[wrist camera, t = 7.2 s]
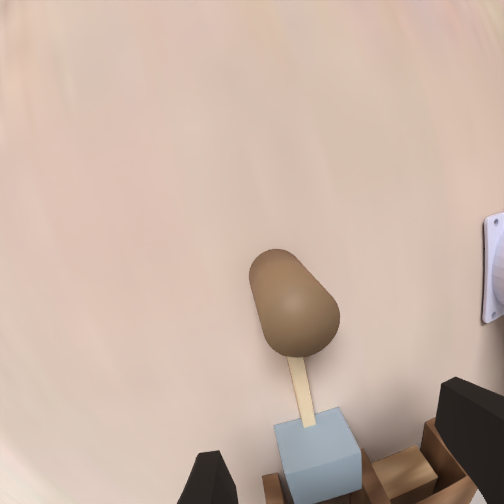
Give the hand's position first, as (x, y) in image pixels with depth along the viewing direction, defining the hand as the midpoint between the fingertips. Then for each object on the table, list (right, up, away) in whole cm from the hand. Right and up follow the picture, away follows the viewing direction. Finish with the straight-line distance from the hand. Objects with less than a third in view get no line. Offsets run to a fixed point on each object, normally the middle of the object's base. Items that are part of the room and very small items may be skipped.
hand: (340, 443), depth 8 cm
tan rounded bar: (0, -2, +10) cm, 10 cm away
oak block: (+10, -14, +14) cm, 22 cm away
